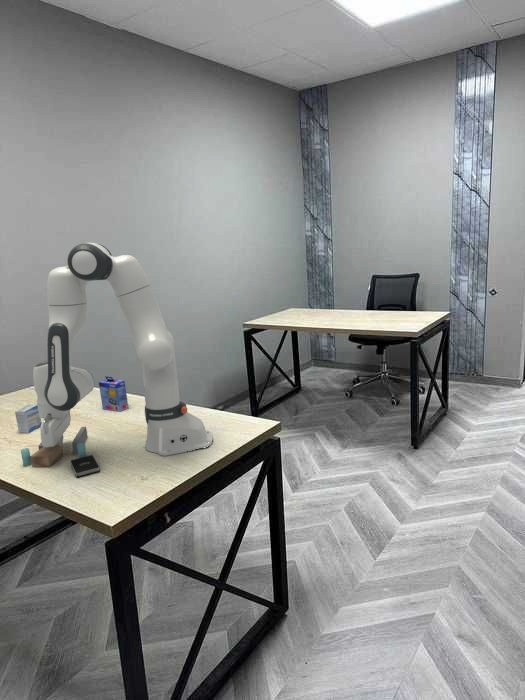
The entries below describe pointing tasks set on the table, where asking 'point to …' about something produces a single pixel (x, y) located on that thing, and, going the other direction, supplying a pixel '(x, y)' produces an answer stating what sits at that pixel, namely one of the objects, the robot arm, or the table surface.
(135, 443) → the table surface
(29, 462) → the posts
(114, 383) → the ink cartridge box
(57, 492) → the table surface
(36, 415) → the medicine box
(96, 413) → the table surface
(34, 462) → the walnut block
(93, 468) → the external hard drive
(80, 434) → the channel walls
